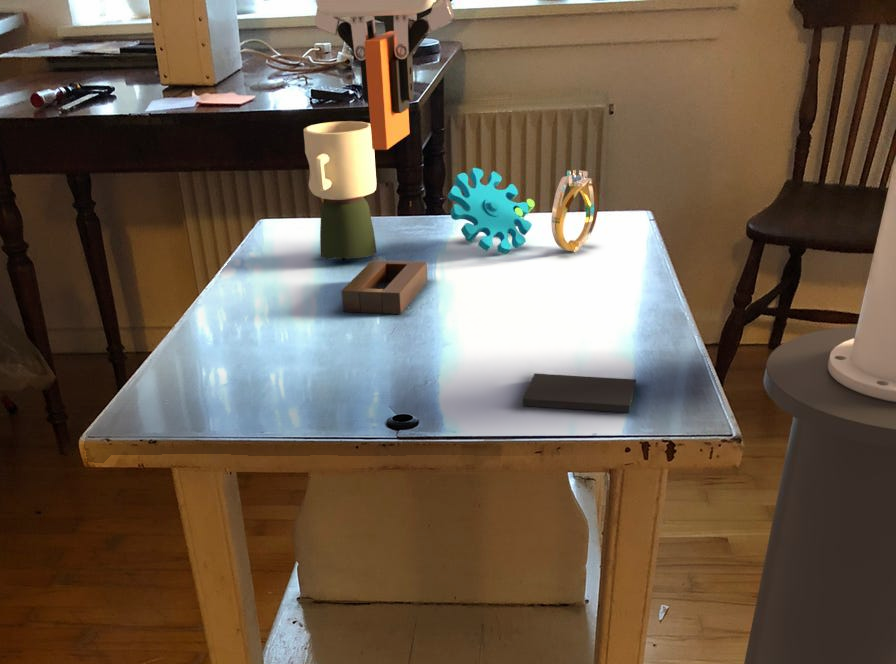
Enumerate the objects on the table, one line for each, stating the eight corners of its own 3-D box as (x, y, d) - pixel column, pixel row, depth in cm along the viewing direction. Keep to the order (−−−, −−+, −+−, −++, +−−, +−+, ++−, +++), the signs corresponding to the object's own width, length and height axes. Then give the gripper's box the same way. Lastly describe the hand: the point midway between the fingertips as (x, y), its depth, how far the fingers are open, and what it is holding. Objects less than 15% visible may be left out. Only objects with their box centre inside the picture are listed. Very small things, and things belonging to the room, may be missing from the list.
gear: (472, 248, 102) (440, 163, 103) (446, 280, 107) (417, 199, 108) (554, 243, 107) (523, 163, 108) (526, 274, 112) (497, 197, 113)
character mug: (340, 242, 112) (329, 116, 105) (397, 246, 110) (390, 117, 102) (297, 270, 105) (281, 136, 97) (357, 275, 102) (346, 138, 94)
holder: (427, 281, 99) (426, 261, 98) (400, 314, 92) (399, 293, 91) (373, 279, 101) (372, 259, 100) (343, 311, 93) (341, 290, 92)
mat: (635, 386, 76) (636, 379, 76) (629, 413, 72) (629, 405, 72) (534, 380, 78) (534, 373, 78) (522, 406, 74) (522, 398, 74)
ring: (582, 241, 108) (585, 162, 103) (605, 246, 106) (610, 166, 101) (540, 256, 104) (543, 175, 100) (564, 261, 103) (567, 179, 98)
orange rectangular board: (409, 133, 88) (404, 30, 84) (387, 149, 83) (380, 40, 78) (395, 133, 89) (389, 31, 84) (371, 149, 83) (363, 41, 79)
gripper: (257, -157, 72) (290, 120, 84) (461, -175, 69) (467, 117, 80) (294, -154, 78) (320, 104, 89) (484, -170, 74) (486, 102, 85)
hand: (389, 109), depth 84 cm, fingers closed on orange rectangular board, 1 cm apart
